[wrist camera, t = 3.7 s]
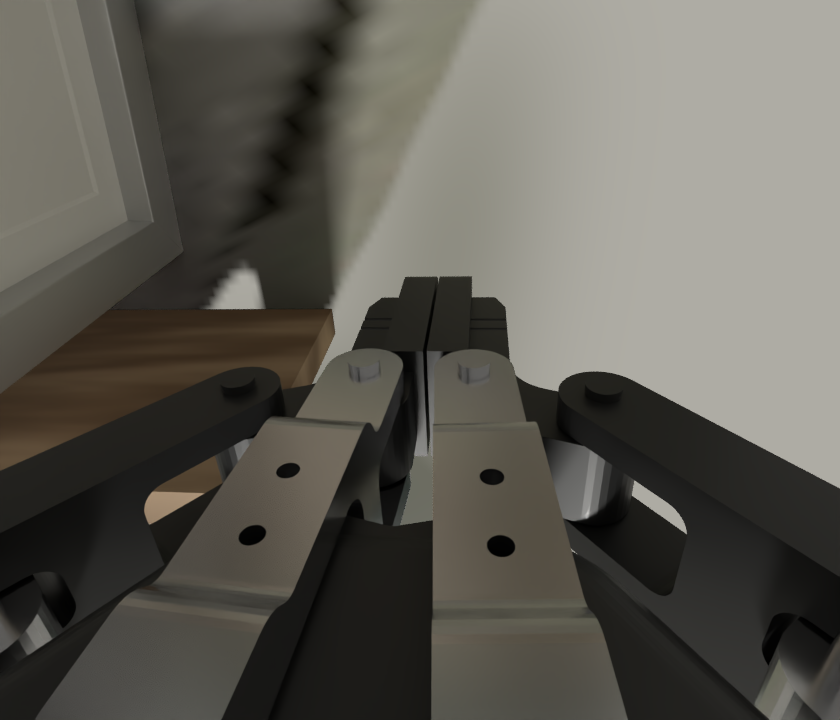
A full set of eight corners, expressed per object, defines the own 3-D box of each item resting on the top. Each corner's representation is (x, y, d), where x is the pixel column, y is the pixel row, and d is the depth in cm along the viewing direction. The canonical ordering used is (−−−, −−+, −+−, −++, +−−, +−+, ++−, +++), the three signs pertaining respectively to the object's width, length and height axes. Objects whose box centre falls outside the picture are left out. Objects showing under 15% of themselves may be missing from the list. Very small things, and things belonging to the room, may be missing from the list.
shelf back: (-137, 310, 33) (-481, 472, 21) (331, 309, 31) (236, 494, 19) (-123, 333, 34) (-448, 501, 22) (335, 333, 31) (245, 527, 19)
